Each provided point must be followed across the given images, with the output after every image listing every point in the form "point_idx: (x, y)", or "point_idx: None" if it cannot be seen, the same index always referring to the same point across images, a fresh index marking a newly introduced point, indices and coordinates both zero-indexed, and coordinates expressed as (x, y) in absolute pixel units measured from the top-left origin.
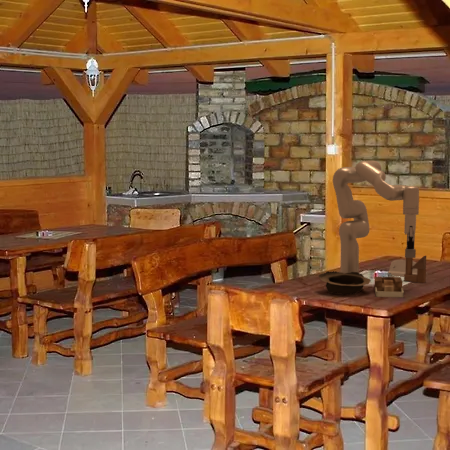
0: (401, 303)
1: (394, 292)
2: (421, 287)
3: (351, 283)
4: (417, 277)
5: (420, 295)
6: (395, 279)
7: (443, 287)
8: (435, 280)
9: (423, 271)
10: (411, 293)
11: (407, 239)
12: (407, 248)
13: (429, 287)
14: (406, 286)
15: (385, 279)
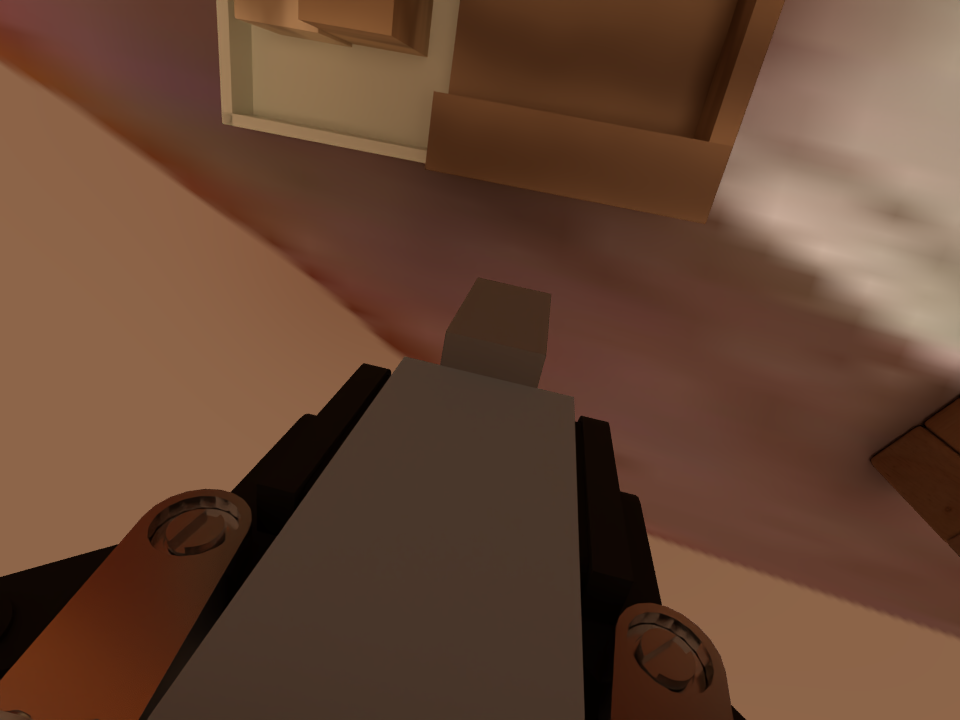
0: (12, 43)
1: (220, 29)
2: (672, 386)
3: None
4: (945, 450)
5: (344, 281)
6: (563, 121)
7: None
8: (952, 572)
9: (933, 526)
10: (421, 236)
11: (273, 547)
12: (359, 373)
13: (660, 440)
14: (749, 282)
15: (740, 26)
